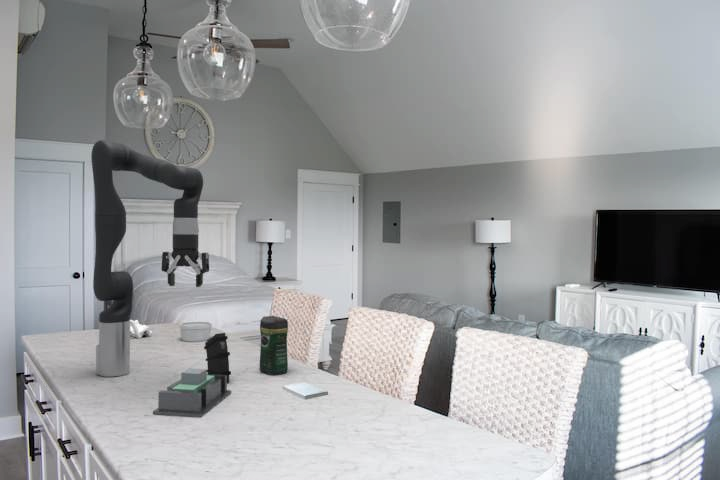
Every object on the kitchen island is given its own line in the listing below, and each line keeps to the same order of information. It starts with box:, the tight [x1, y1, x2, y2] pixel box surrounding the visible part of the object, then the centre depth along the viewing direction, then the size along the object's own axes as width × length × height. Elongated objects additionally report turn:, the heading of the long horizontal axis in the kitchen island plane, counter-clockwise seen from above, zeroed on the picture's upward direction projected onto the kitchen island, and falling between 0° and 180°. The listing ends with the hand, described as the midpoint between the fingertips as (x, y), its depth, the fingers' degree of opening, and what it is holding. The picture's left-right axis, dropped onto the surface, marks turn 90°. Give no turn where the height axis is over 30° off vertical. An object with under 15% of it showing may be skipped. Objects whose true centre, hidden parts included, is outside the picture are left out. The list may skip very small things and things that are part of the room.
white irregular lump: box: [130, 319, 153, 339], centre depth 242 cm, size 12×6×11 cm, turn 46°
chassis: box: [152, 373, 232, 418], centre depth 152 cm, size 21×13×6 cm, turn 172°
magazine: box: [203, 332, 232, 384], centre depth 176 cm, size 4×13×15 cm, turn 36°
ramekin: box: [179, 320, 213, 343], centre depth 237 cm, size 13×13×7 cm
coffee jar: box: [259, 315, 289, 375], centre depth 186 cm, size 10×8×19 cm
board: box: [172, 367, 215, 392], centre depth 152 cm, size 14×6×5 cm, turn 172°
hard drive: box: [281, 381, 329, 400], centre depth 164 cm, size 2×8×12 cm
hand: (185, 286), depth 169 cm, fingers open, 8 cm apart
